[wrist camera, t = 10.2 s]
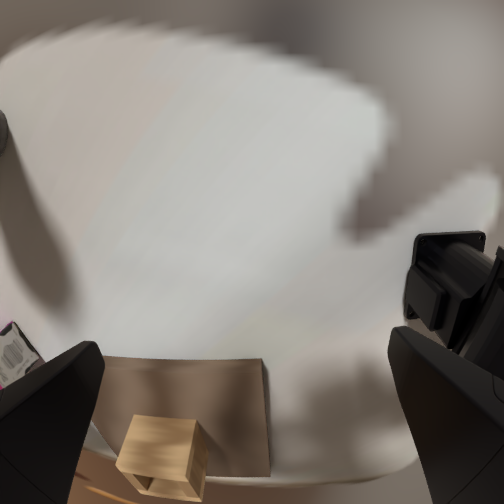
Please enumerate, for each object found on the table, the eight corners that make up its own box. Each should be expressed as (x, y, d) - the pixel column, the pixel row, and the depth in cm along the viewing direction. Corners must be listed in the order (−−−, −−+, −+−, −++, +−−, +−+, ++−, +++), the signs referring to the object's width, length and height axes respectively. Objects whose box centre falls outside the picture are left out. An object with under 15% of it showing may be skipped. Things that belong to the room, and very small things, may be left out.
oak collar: (196, 419, 23) (185, 476, 17) (208, 452, 25) (201, 501, 20) (133, 414, 23) (115, 465, 18) (153, 447, 26) (140, 493, 20)
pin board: (261, 358, 22) (261, 426, 16) (270, 466, 29) (270, 512, 22) (64, 351, 23) (31, 398, 17) (127, 456, 29) (114, 495, 23)
